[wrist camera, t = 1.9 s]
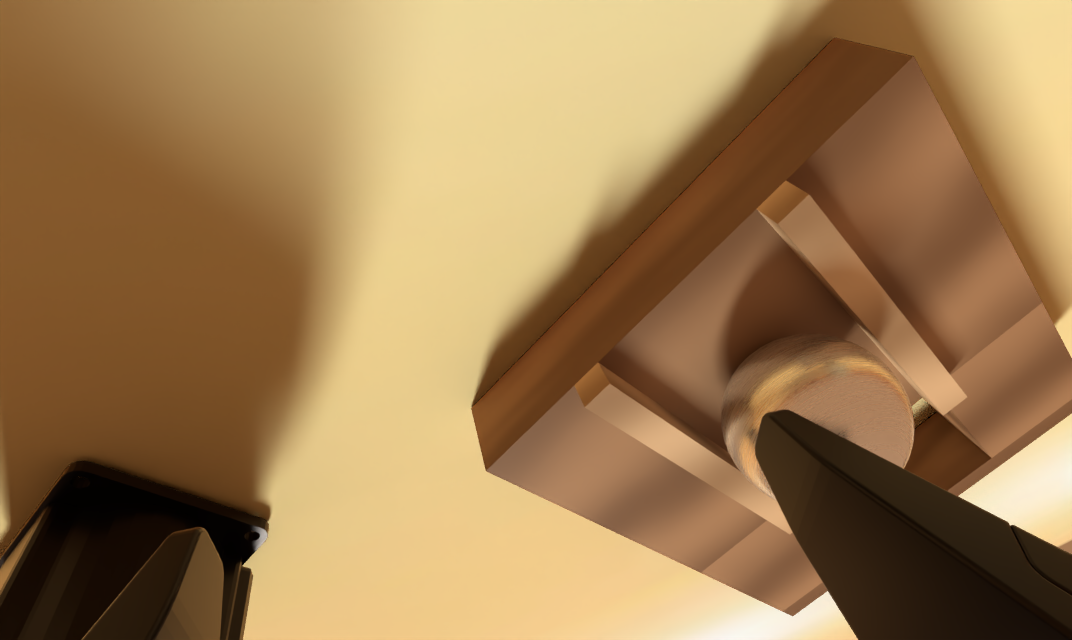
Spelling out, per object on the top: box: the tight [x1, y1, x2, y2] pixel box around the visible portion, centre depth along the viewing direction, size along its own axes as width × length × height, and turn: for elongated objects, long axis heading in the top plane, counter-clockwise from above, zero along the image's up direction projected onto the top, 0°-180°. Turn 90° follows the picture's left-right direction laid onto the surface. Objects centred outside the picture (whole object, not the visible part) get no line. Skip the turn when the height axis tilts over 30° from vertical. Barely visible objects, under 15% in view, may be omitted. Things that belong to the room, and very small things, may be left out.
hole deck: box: [471, 38, 1072, 616], centre depth 23 cm, size 20×16×4 cm
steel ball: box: [721, 334, 914, 501], centre depth 17 cm, size 5×5×5 cm
